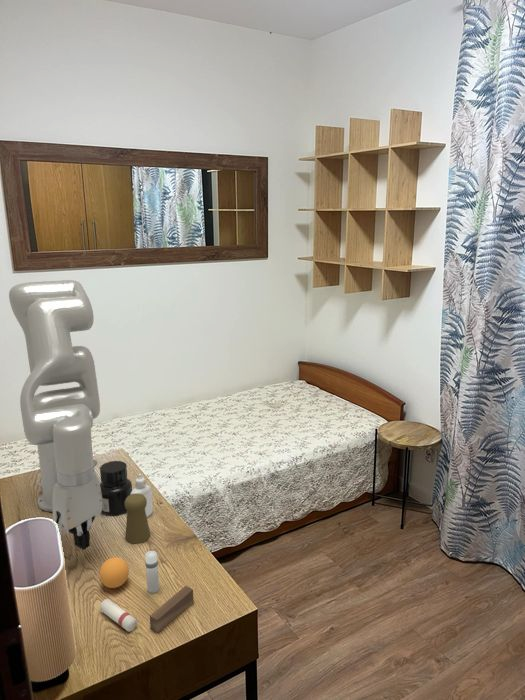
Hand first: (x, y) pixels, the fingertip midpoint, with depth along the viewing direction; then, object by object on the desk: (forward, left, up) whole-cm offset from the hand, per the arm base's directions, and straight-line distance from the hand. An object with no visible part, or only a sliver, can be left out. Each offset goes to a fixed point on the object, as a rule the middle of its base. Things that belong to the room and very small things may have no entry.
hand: (82, 545), depth 118 cm
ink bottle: (-12, +19, -4) cm, 23 cm away
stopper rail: (+28, -1, -4) cm, 28 cm away
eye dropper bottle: (-3, +20, -4) cm, 21 cm away
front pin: (+16, -7, -3) cm, 18 cm away
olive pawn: (+3, +13, -4) cm, 14 cm away
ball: (+12, -1, -1) cm, 12 cm away
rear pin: (+20, +2, -4) cm, 20 cm away
